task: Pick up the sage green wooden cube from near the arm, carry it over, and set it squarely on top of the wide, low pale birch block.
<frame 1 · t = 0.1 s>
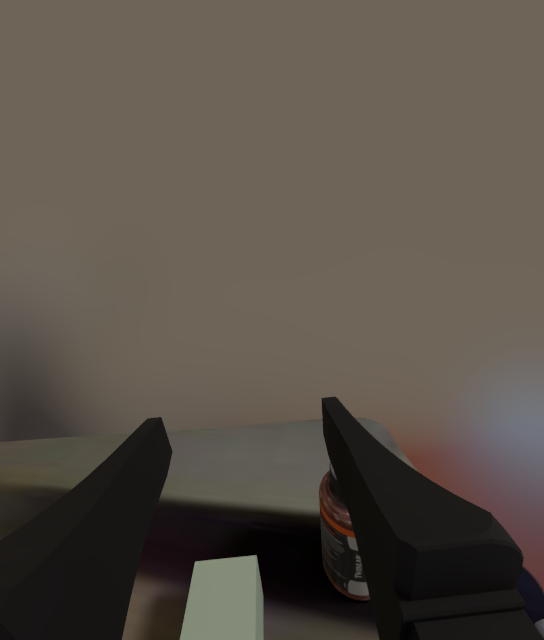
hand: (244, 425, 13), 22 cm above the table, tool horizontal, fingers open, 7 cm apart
supplement bottle: (355, 565, 26), on the table
sage cube: (231, 637, 22), on the table
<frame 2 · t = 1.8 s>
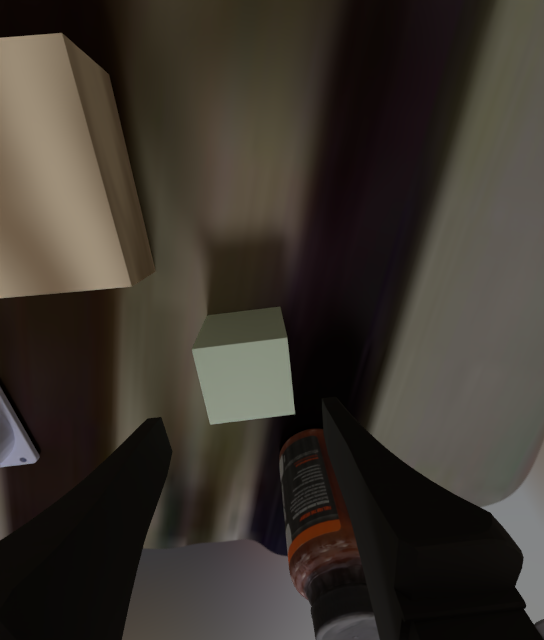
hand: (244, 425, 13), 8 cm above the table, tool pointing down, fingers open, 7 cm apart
birch base: (50, 192, 16), on the table
supplement bottle: (312, 449, 25), on the table
sage cube: (248, 343, 20), on the table
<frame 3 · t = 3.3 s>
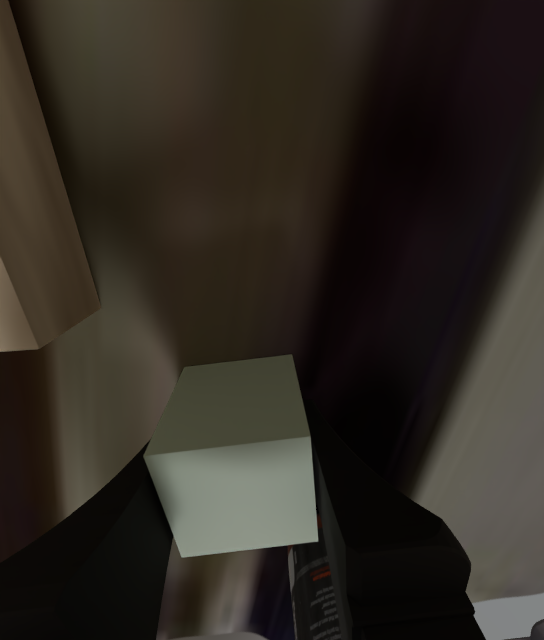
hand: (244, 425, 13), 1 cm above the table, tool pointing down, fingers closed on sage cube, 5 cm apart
supplement bottle: (331, 532, 18), on the table
sage cube: (245, 404, 14), on the table, touching gripper
when the fingers open (7 cm above the table, at t = 6.8 s): sage cube drops 2 cm, resting on birch base.
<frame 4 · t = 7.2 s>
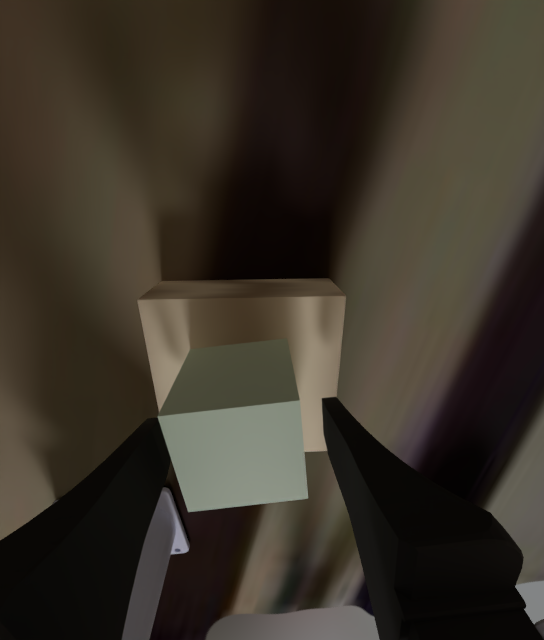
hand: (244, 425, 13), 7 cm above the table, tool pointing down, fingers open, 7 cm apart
birch base: (249, 350, 19), on the table, touching sage cube
sage cube: (245, 384, 15), point 4 cm above the table, touching birch base
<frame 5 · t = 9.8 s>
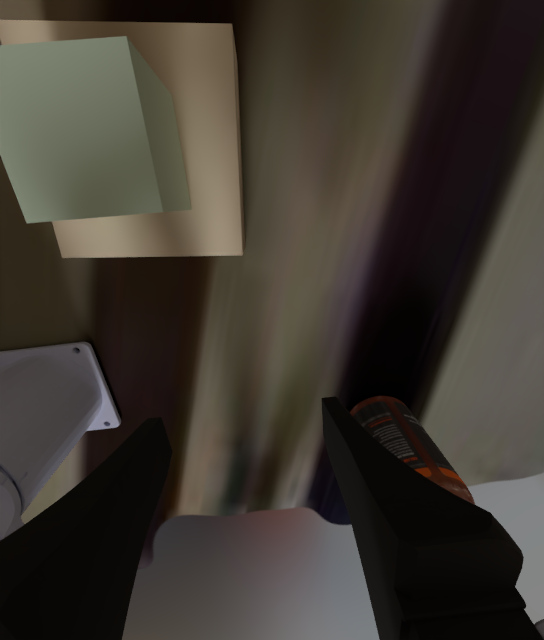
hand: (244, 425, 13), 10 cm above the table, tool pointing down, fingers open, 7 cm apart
birch base: (162, 165, 18), on the table, touching sage cube
supplement bottle: (374, 417, 26), on the table
sage cube: (132, 160, 14), point 4 cm above the table, touching birch base
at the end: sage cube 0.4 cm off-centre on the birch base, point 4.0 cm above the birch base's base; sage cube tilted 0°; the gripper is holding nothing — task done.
